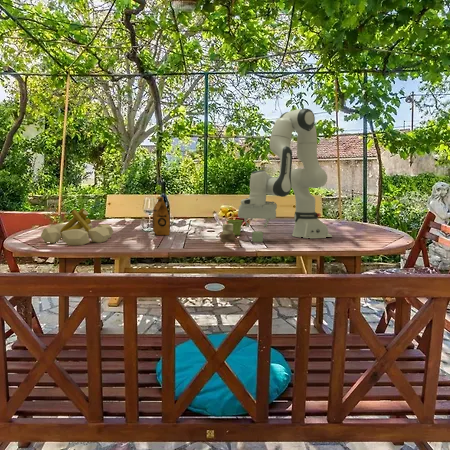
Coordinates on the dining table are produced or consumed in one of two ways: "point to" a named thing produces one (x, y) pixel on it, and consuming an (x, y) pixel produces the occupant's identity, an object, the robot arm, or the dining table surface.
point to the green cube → (257, 236)
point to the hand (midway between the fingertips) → (256, 227)
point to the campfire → (77, 231)
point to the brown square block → (227, 237)
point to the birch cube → (227, 228)
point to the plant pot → (236, 226)
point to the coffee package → (161, 218)
